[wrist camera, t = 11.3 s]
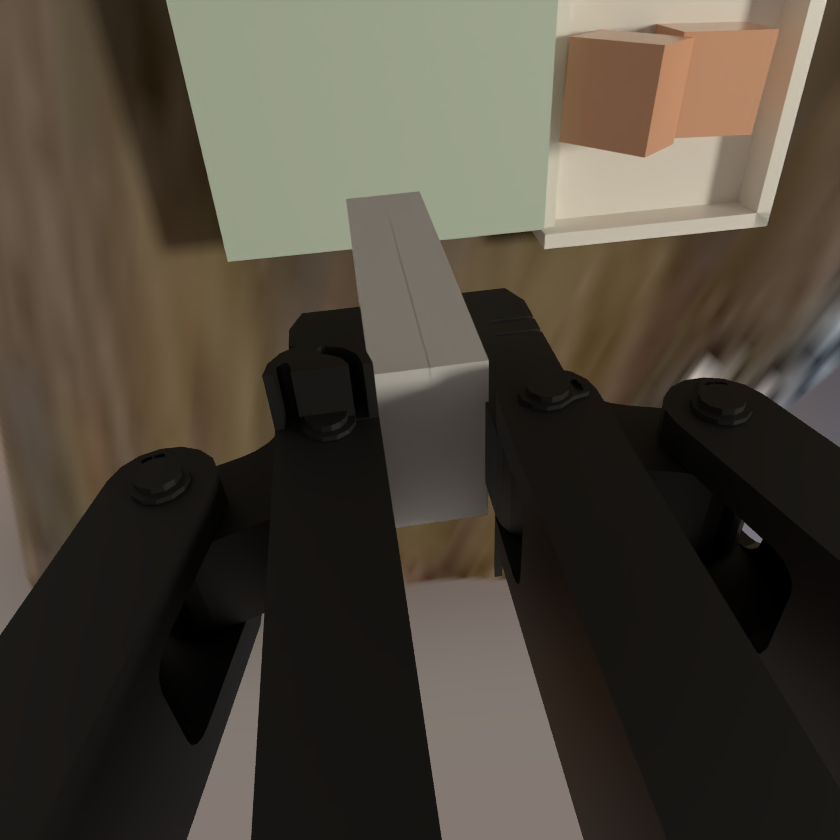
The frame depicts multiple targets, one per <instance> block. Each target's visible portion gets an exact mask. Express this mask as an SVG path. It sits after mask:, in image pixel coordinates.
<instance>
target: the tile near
mask: <svg viewBox="0 0 840 840" xmlns="http://www.w3.org/2000/svg"><path fill="white" fill-rule="evenodd" d="M694 39H695V37H688V36H676V35H664V34H652V33H639V32H627V31H615V30H599V31H594V32H589V33H585V34H580V35H575V36H570V44H569V53H568V63H567V72H566V81H565V91H564V100H563V110H562V119H561V129H560V138H559V142H564V143H569V144H574V145H580V146H585V147H590V148H596V149H601V150H606V151H611V152H617V153H622V154H627V155H633V156H638V157H643V158H645V157H647V156H649V155H651V154H654V153H656V152H658V151H660V150H662V149H664V148H666V147H668V146H670V145H672V144H673V143H674V138H675V133H676V128H677V123H678V118H679V113H680V108H681V103H682V99H683V94H684V89H685V84H686V79H687V74H688V69H689V64H690V59H691V54H692V49H693V44H694Z"/></svg>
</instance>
